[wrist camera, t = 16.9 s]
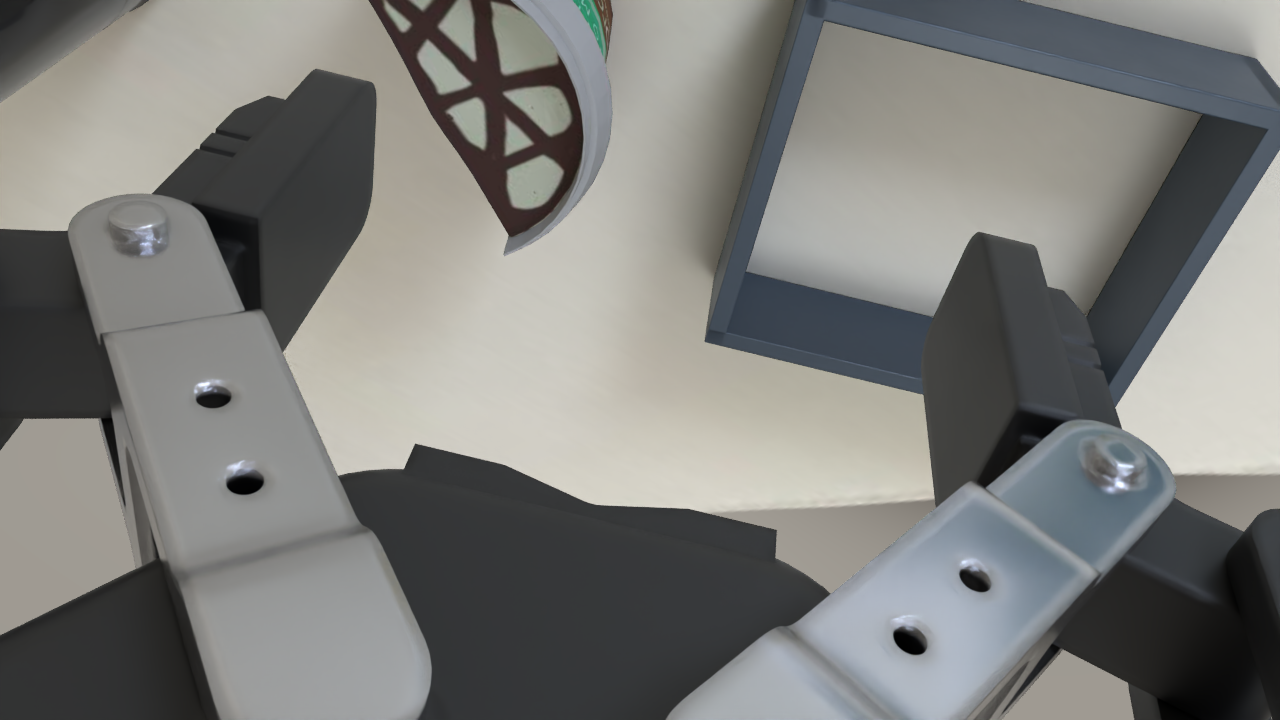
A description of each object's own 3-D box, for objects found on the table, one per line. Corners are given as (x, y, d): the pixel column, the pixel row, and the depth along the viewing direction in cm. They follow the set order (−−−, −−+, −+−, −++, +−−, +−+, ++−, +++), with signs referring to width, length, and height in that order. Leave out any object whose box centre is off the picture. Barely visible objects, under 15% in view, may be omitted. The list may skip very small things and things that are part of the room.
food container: (691, 95, 46) (663, 216, 38) (562, 143, 48) (511, 268, 40) (555, -204, 39) (487, -132, 31) (414, -132, 41) (318, -48, 34)
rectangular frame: (713, 278, 51) (704, 342, 47) (810, -53, 41) (808, -6, 37) (1076, 366, 51) (1097, 436, 47) (1257, 58, 42) (1301, 115, 38)
